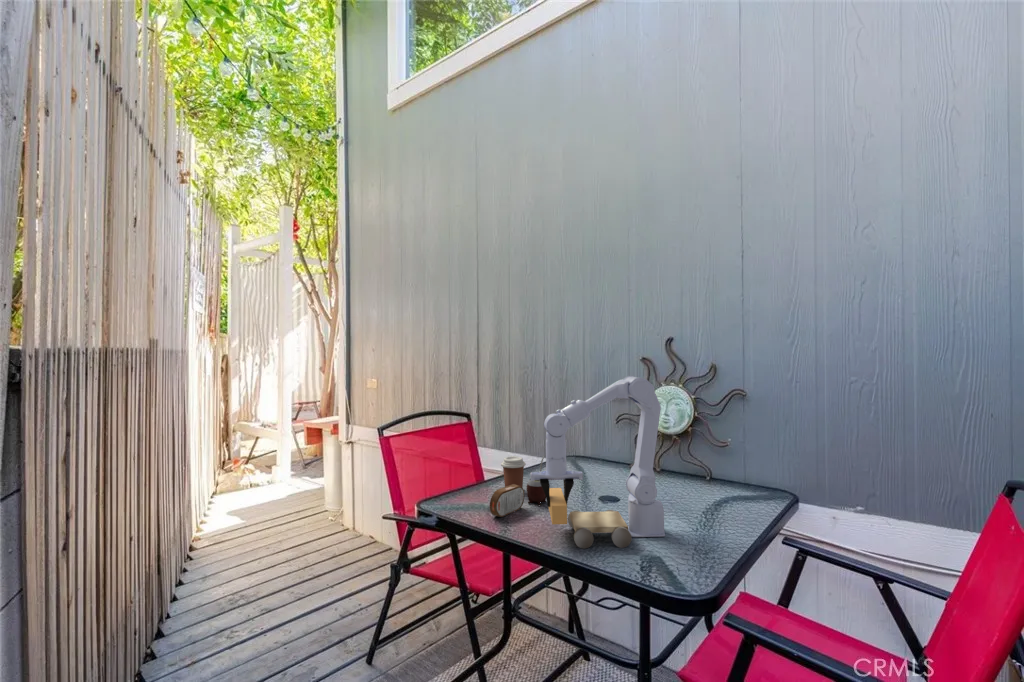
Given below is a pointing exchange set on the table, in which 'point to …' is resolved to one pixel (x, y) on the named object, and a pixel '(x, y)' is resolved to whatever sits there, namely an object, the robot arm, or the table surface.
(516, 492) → the tin
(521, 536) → the table surface
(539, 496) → the mate gourd
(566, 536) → the table surface
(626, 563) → the table surface
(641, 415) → the robot arm
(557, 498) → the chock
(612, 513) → the trolley
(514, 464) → the coffee cup
